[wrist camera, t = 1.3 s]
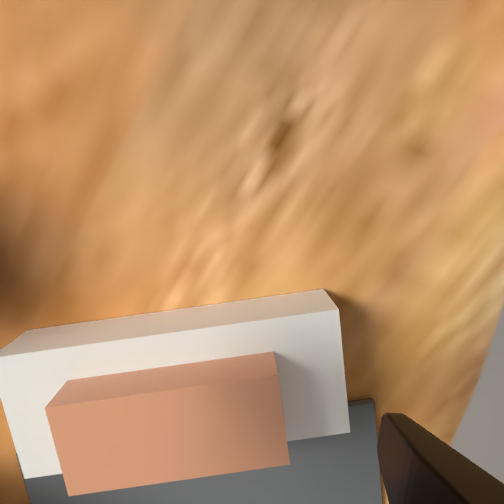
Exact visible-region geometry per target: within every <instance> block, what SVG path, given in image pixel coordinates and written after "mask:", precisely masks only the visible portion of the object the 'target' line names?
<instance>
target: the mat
mask: <svg viewBox="0 0 504 504" xmlns="http://www.w3.org/2000/svg"><path fill="white" fill-rule="evenodd" d="M348 413H349V424H350V433H343V434H336V435H329V436H322V437H315V438H308V439H301V440H294V441H287V445H288V453H289V460H290V465H284V466H277V467H270V468H263V469H256V470H249V471H242V472H235V473H228V474H221V475H214V476H207V477H200V478H193V479H186V480H179V481H172V482H165V483H158V484H151V485H144V486H137V487H130V488H123V489H116V490H109V491H102V492H95V493H88V494H81V495H74V496H68V492H67V489H66V485H65V481H64V478H63V474H55V475H48V476H41V477H34V478H27V479H24V475H23V472H22V469H21V465H20V462H19V458H18V455H17V453H16V455H17V459H18V462H19V466H20V469H21V472H22V476H23V479H24V483H25V486H26V489H27V493H28V496H29V499H30V503H31V504H382V495H381V482H380V469H379V460H378V455H377V444H378V443H377V430H376V417H375V404H374V401H373V400H372V399H366V400H359V401H352V402H348Z"/></svg>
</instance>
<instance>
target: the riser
mask: <svg viewBox="0 0 504 504" xmlns="http://www.w3.org/2000/svg"><path fill="white" fill-rule="evenodd" d="M272 351H274V356H275V361H276V366H277V371H278V377H279V384H280V392H281V399H282V407H283V415H284V422H285V430H286V438H287V441H294V440H301V439H308V438H315V437H322V436H329V435H336V434H343V433H350V424H349V413H348V402H347V392H346V381H345V370H344V360H343V349H342V338H341V327H340V317H339V309H338V307H337V306H336V305H335V303H334V302H333V301H332V299H331V298H330V297H329V295H328V294H327V293H326V291H325V290H324V289H319V290H311V291H304V292H297V293H290V294H283V295H276V296H268V297H261V298H254V299H247V300H240V301H233V302H225V303H218V304H211V305H204V306H197V307H190V308H182V309H175V310H168V311H161V312H154V313H147V314H139V315H132V316H125V317H118V318H111V319H104V320H96V321H89V322H82V323H75V324H68V325H61V326H53V327H46V328H39V329H32V330H27V331H25V332H24V333H23V334H21V335H20V336H19V337H17V338H16V339H14V340H13V341H12V342H10V343H9V344H8V345H6V346H5V347H4V348H2V349H1V350H0V397H1V401H2V404H3V407H4V411H5V414H6V418H7V421H8V424H9V428H10V431H11V435H12V438H13V441H14V445H15V448H16V452H17V455H18V458H19V462H20V465H21V469H22V472H23V475H24V479H27V478H34V477H41V476H48V475H55V474H62V470H61V467H60V463H59V459H58V456H57V452H56V448H55V444H54V441H53V437H52V433H51V430H50V426H49V422H48V419H47V415H46V411H45V407H46V406H47V404H48V403H49V402H50V401H51V400H52V398H53V397H54V396H55V395H56V394H57V392H58V391H59V390H60V389H61V387H62V386H63V385H64V384H65V383H66V381H67V380H73V379H80V378H87V377H95V376H102V375H109V374H116V373H123V372H130V371H137V370H144V369H151V368H159V367H166V366H173V365H180V364H187V363H194V362H201V361H208V360H215V359H223V358H230V357H237V356H244V355H251V354H258V353H265V352H272Z"/></svg>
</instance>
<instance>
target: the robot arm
mask: <svg viewBox="0 0 504 504" xmlns="http://www.w3.org/2000/svg"><path fill="white" fill-rule="evenodd" d="M377 455H378V460H379V464H380V468H381V472H382V476H383V480H384V484H385V488H386V492H387V496H388V500H389V504H504V484H503V483H502V482H500V481H499V480H497V479H496V478H494V477H493V476H492V475H490V474H489V473H487V472H486V471H484V470H483V469H482V468H480V467H479V466H477V465H476V464H474V463H473V462H472V461H470V460H469V459H467V458H466V457H464V456H463V455H462V454H460V453H459V452H457V451H456V450H455V449H453V448H452V447H450V446H449V445H447V444H446V443H445V442H443V441H442V440H440V439H439V438H437V437H436V436H435V435H433V434H432V433H430V432H429V431H427V430H426V429H425V428H423V427H422V426H420V425H419V424H417V423H416V422H415V421H413V420H412V419H410V418H409V417H407V416H406V415H404V414H402V413H384V414H383V416H382V418H381V424H380V431H379V437H378V444H377Z"/></svg>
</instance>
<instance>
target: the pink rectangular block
mask: <svg viewBox="0 0 504 504" xmlns="http://www.w3.org/2000/svg"><path fill="white" fill-rule="evenodd" d="M45 411H46V415H47V419H48V422H49V426H50V430H51V433H52V437H53V441H54V444H55V448H56V452H57V456H58V459H59V463H60V467H61V470H62V474H63V478H64V481H65V485H66V489H67V492H68V496H74V495H81V494H88V493H95V492H102V491H109V490H116V489H123V488H130V487H137V486H144V485H151V484H158V483H165V482H172V481H179V480H186V479H193V478H200V477H207V476H214V475H221V474H228V473H235V472H242V471H249V470H256V469H263V468H270V467H277V466H284V465H290V460H289V453H288V445H287V438H286V430H285V422H284V415H283V407H282V399H281V392H280V384H279V377H278V371H277V366H276V361H275V356H274V351H272V352H265V353H258V354H251V355H244V356H237V357H230V358H223V359H215V360H208V361H201V362H194V363H187V364H180V365H173V366H166V367H159V368H151V369H144V370H137V371H130V372H123V373H116V374H109V375H102V376H95V377H87V378H80V379H73V380H67V381H66V383H65V384H64V385H63V386H62V387H61V389H60V390H59V391H58V392H57V394H56V395H55V396H54V397H53V398H52V400H51V401H50V402H49V403H48V404H47V406H46V407H45Z"/></svg>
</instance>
